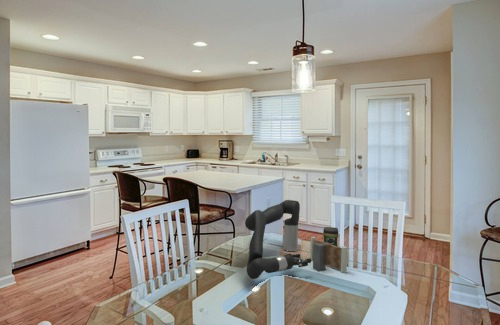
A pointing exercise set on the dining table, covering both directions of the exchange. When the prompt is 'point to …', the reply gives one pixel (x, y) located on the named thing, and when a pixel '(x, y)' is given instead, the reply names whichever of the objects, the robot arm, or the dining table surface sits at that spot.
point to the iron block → (319, 257)
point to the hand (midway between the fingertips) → (305, 258)
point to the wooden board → (343, 255)
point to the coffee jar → (330, 235)
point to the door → (332, 255)
